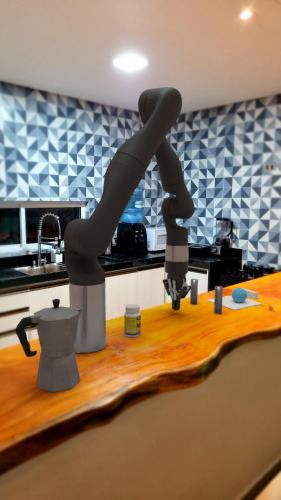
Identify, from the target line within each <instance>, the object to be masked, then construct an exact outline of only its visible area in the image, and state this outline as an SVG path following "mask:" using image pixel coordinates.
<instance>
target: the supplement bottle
mask: <svg viewBox="0 0 281 500" xmlns="http://www.w3.org/2000/svg"><path fill="white" fill-rule="evenodd" d="M140 307H141V306H140V305H139V304H136V303H130V304H126V305H125V308H124V309H125V312H124V316H123V319H124V320H123V322H124V324H123V325H124V327H123V328H124V329H123V332H124V337H125V336H126V337H128V338H137V337H140V336H141V334H142V333H141V331H142V330H141V329H142V326H141V325H142V321H141V320H142V319H141V318H142V313H141V312H140V310H141V308H140Z"/></svg>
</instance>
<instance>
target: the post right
mask: <svg viewBox="0 0 281 500" xmlns="http://www.w3.org/2000/svg"><path fill="white" fill-rule="evenodd" d="M223 289H224V287H223V286H221V285H215V286H214V299H215V300H214V303H213V305H214V307H213V310H214V311H213V313H214V314H215V315H222V314H223V306H222V298H223V297H224V294H223V293H224V292H223V291H224V290H223Z"/></svg>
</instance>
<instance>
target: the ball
mask: <svg viewBox="0 0 281 500" xmlns="http://www.w3.org/2000/svg"><path fill="white" fill-rule="evenodd" d="M242 288H243V287H237V288H234V289H233V291H232V292H231V295H232V298H233V300H234V301H235V302H238V303H241V302H244V301H245V300H246V299H248V297H247V293H246V291H245V290H244V289H245V288H244V289H242Z"/></svg>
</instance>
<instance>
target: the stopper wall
mask: <svg viewBox="0 0 281 500" xmlns="http://www.w3.org/2000/svg"><path fill="white" fill-rule="evenodd" d="M241 288H242V289H244V290H245V291H246V293H247V298H248V299H251V300H258V299H259V292H257V291H254V290H250V289H248V288H244V287H241Z"/></svg>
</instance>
